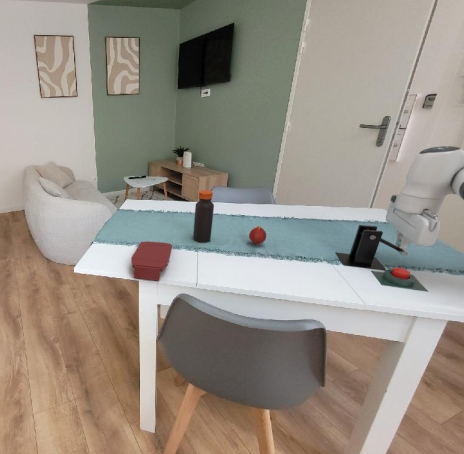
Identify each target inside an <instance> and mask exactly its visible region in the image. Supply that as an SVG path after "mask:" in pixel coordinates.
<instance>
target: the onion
mask: <svg viewBox="0 0 464 454" xmlns="http://www.w3.org/2000/svg"><path fill="white" fill-rule="evenodd" d="M248 239H249V241H250V242H251V243H253V245H255V246H258V245H260V244H261V245H262V244H263V243H264V242H265V241H266V240H267V232H266V231H265V230H264V228H262V227H261V225H257V226H256V227H254V228H252V229H251V230H250V232H249V235H248Z"/></svg>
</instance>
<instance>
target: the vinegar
mask: <svg viewBox="0 0 464 454" xmlns="http://www.w3.org/2000/svg"><path fill="white" fill-rule="evenodd" d="M213 193H214V192H213V191H212V190H206V189H205V190H200V191H198V201H197V202H196V203H195V208H194V220H193V234H192V239H193V240H194V241H195V242H196V243H201V242H205V243H209V242H210V241H211V240H212V231H213V230H212V228H213V220H214V210H215V209H214V208H215V204H214V203H213V201H212V200H213Z"/></svg>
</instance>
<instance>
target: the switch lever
mask: <svg viewBox="0 0 464 454" xmlns="http://www.w3.org/2000/svg"><path fill="white" fill-rule="evenodd" d="M364 230H371V229H369V228H367V227H366V228H365V229H364ZM364 230H363V231H364ZM363 231H362V232H361V234H363ZM379 243H381V244H384V245H386V246H387V247H389V248H392V249H393V250H395V251H397V252H398V253H399V254H400V255H401V256H403V257H407V256H408V255H409V253H408V252H407V251H406V249H402V248H400V247H399V246H397V245H396V244H394V243H392V242H390V241H389V240H386V239H384V238H383V237H381V240H380V242H379Z"/></svg>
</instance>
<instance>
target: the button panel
mask: <svg viewBox="0 0 464 454" xmlns="http://www.w3.org/2000/svg"><path fill="white" fill-rule="evenodd" d="M392 271H393V268H388V269H387V268H386V270H385V271H379V270H370V272H371V273H372V275H373V277H375V279H376V280H377V281H378V282H379V284H380V285H381V286H385V287H392V288H398V289H405V290H413V291H421V292H427V293H428V292H429V290H428V289H427V288H426V287H425V286H424V285H423V284H422V283H421V282H420V281H419V280H418V279H417V277H416V276H415V275H413V274H412V273H410V276H409V278H408V279H402V278H398V277H395V276H393V275H392V274H391V273H392Z"/></svg>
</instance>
